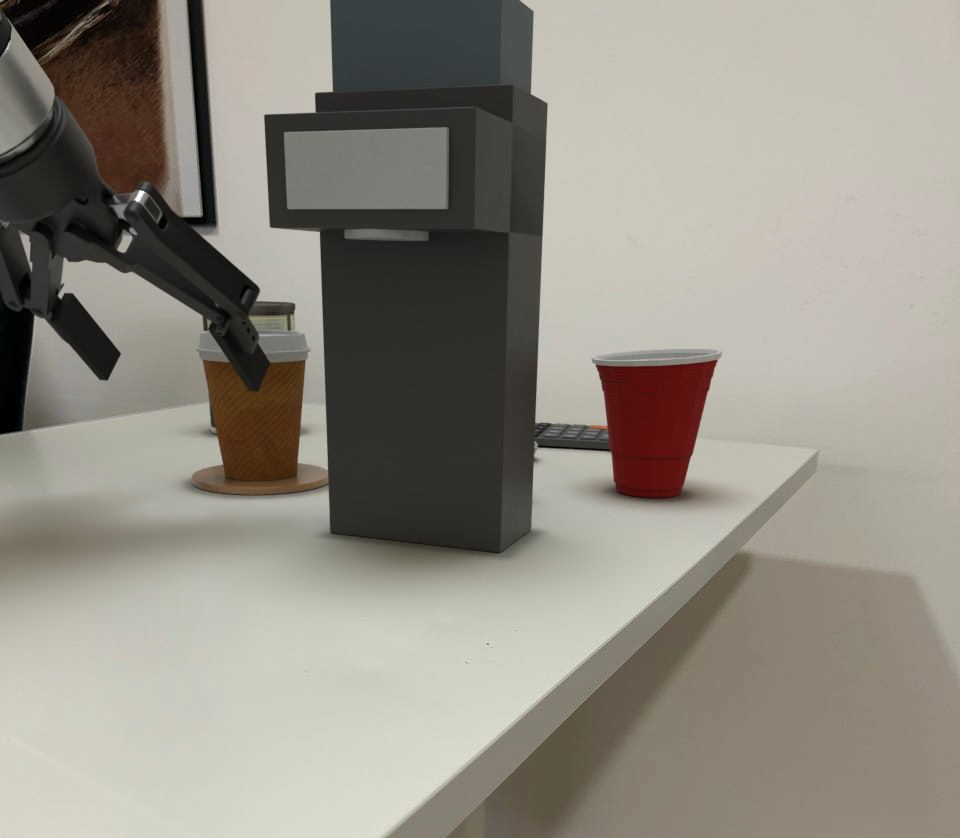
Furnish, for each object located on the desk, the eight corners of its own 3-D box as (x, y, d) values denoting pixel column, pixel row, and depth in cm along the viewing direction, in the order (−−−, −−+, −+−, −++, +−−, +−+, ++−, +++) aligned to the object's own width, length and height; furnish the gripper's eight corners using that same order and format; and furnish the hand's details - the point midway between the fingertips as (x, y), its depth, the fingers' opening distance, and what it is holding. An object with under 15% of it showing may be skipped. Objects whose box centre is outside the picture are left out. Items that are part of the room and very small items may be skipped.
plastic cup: (584, 476, 92) (592, 343, 88) (701, 481, 91) (715, 346, 87) (583, 501, 82) (591, 352, 78) (714, 507, 81) (730, 356, 77)
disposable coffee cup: (207, 486, 82) (195, 336, 77) (204, 465, 90) (193, 329, 86) (322, 482, 84) (317, 336, 80) (308, 462, 93) (303, 329, 88)
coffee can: (194, 428, 114) (184, 300, 109) (274, 421, 121) (267, 300, 116) (235, 440, 107) (226, 304, 102) (317, 432, 113) (312, 303, 108)
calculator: (619, 441, 105) (482, 433, 108) (618, 449, 105) (482, 442, 108) (627, 425, 116) (503, 419, 119) (627, 433, 116) (502, 427, 119)
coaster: (162, 483, 85) (161, 476, 85) (257, 463, 95) (257, 456, 95) (267, 501, 80) (267, 493, 80) (357, 477, 90) (357, 471, 89)
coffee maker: (465, 578, 61) (475, -53, 49) (282, 554, 65) (251, -32, 53) (531, 529, 73) (551, 11, 61) (372, 512, 77) (363, 24, 65)
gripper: (-187, 174, 59) (33, 400, 78) (156, 171, 51) (310, 423, 70) (-127, 89, 62) (72, 326, 81) (208, 74, 54) (343, 341, 73)
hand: (183, 372), depth 75 cm, fingers open, 13 cm apart
